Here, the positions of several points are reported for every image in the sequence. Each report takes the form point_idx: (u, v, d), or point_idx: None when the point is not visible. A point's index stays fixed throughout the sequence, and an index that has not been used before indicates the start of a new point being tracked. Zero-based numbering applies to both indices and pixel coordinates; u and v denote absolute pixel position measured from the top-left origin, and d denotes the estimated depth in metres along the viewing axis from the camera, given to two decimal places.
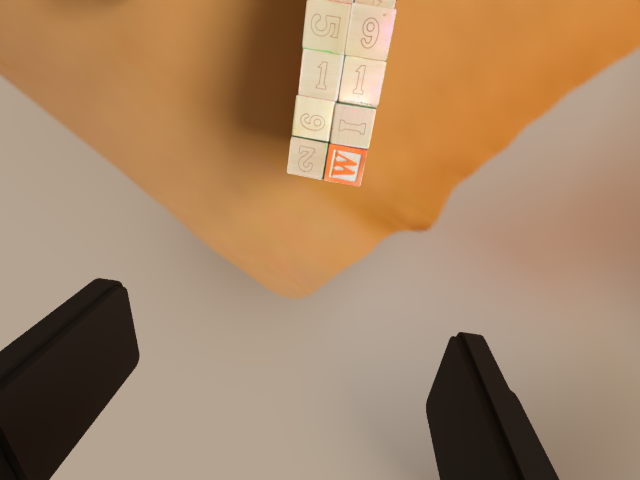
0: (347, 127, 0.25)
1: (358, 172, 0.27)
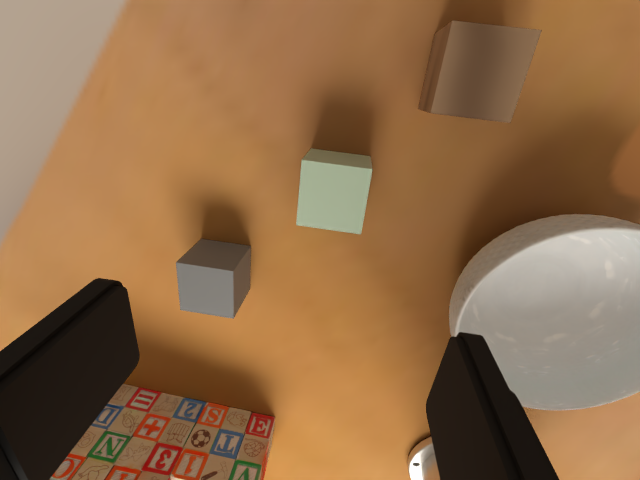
0: None
1: None
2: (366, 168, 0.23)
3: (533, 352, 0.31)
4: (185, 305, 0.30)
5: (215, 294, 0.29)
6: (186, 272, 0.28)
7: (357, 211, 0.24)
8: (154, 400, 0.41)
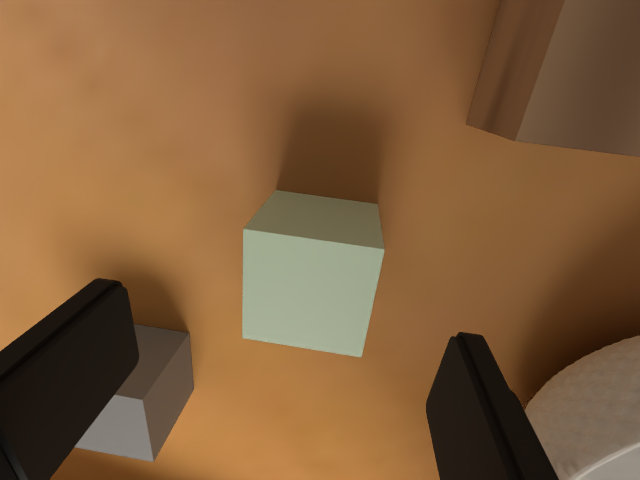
0: None
1: None
2: (372, 246, 0.11)
3: None
4: None
5: (119, 428, 0.17)
6: None
7: (355, 321, 0.13)
8: None
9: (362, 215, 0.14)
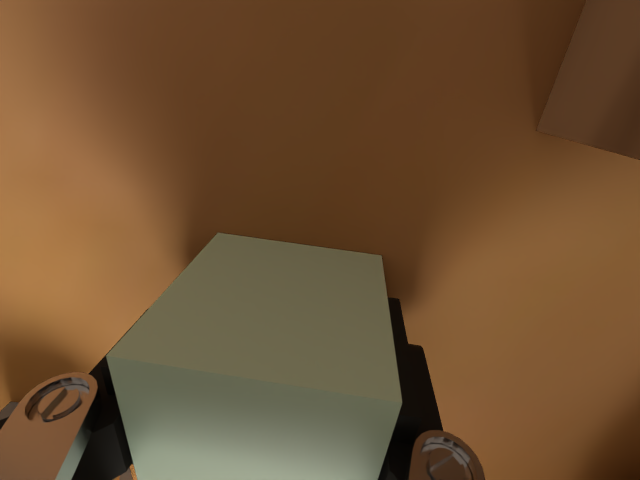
0: None
1: None
2: (376, 394, 0.05)
3: None
4: None
5: None
6: None
7: None
8: None
9: (356, 289, 0.08)
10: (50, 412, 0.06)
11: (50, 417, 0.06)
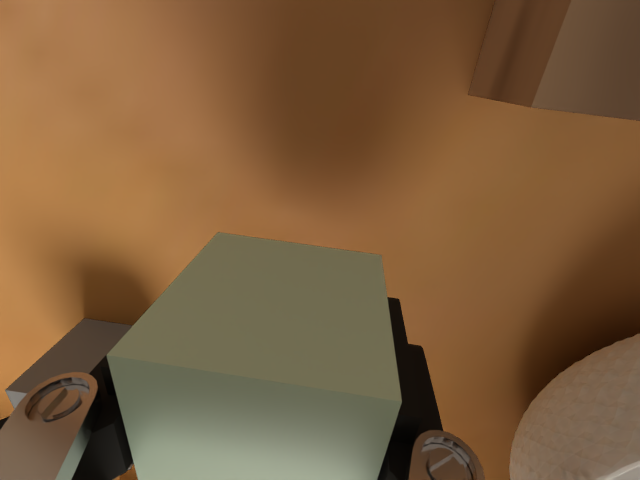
0: None
1: None
2: (375, 392, 0.05)
3: None
4: None
5: None
6: None
7: None
8: None
9: (356, 288, 0.08)
10: (50, 412, 0.06)
11: (50, 417, 0.06)
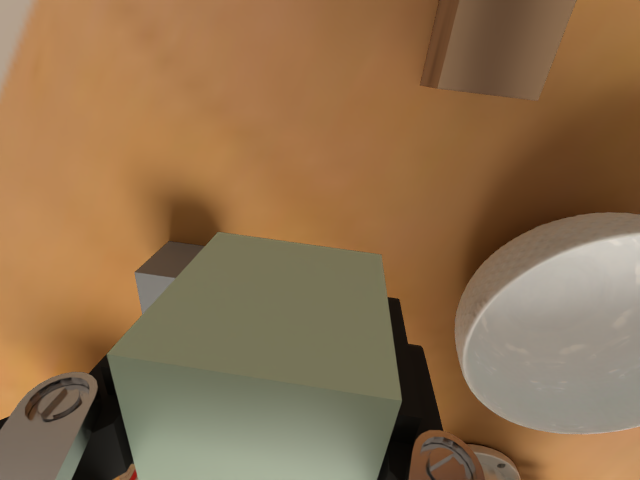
0: None
1: None
2: (375, 392, 0.05)
3: (547, 365, 0.27)
4: None
5: None
6: (147, 283, 0.24)
7: None
8: None
9: (356, 288, 0.08)
10: (50, 412, 0.06)
11: (50, 417, 0.06)
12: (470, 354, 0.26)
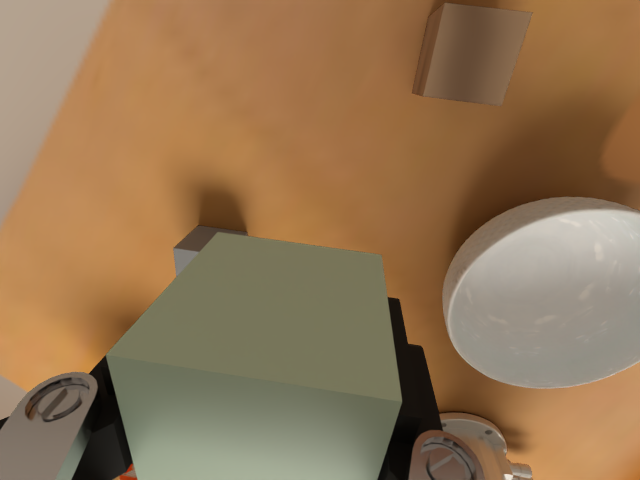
0: None
1: None
2: (376, 392, 0.05)
3: (524, 334, 0.32)
4: None
5: None
6: (183, 258, 0.29)
7: None
8: None
9: (356, 288, 0.08)
10: (50, 412, 0.06)
11: (50, 417, 0.06)
12: (456, 321, 0.30)
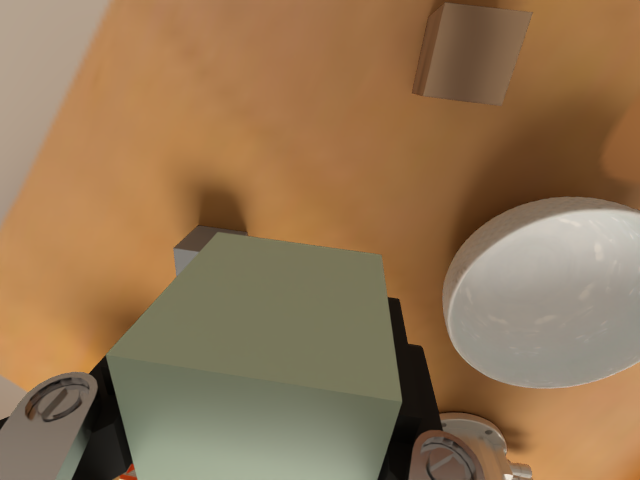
0: None
1: None
2: (376, 392, 0.05)
3: (524, 333, 0.32)
4: None
5: None
6: (184, 258, 0.29)
7: None
8: None
9: (356, 288, 0.08)
10: (50, 412, 0.06)
11: (50, 417, 0.06)
12: (456, 321, 0.30)
